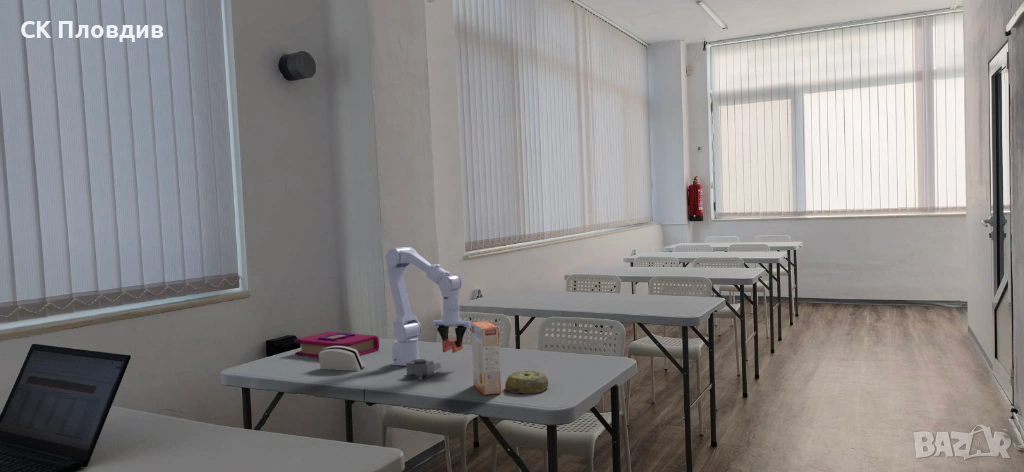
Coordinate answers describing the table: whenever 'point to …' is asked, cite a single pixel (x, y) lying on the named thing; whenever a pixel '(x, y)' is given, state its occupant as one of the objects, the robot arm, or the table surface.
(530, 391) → the greenish tan ring
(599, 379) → the table surface
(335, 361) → the white napkin holder
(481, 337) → the cracker box
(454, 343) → the red notched block
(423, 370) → the coupler
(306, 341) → the book
